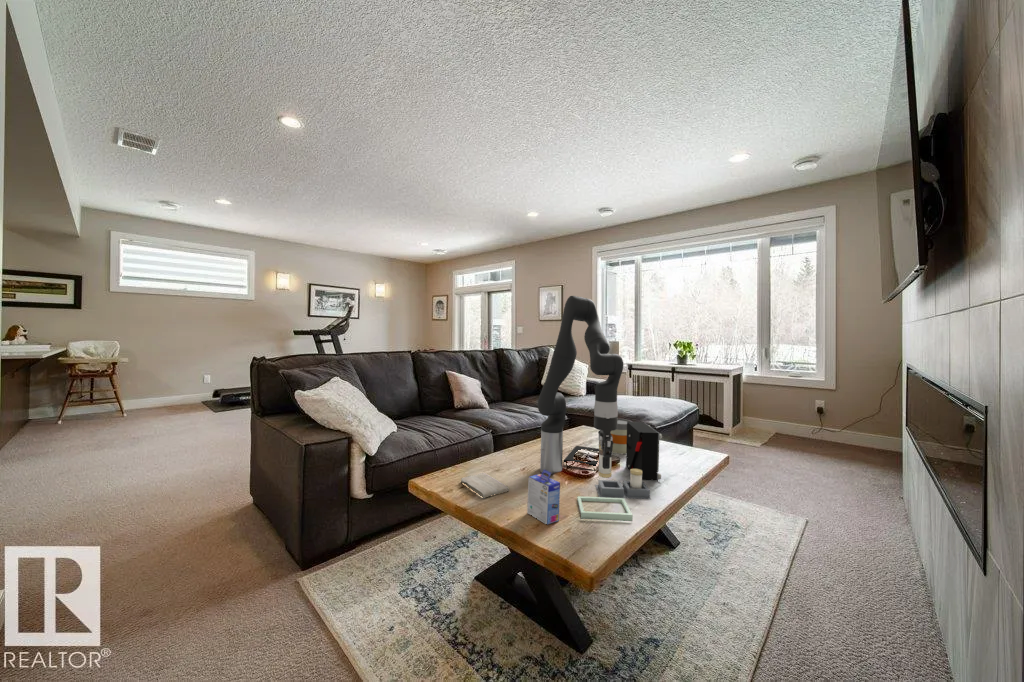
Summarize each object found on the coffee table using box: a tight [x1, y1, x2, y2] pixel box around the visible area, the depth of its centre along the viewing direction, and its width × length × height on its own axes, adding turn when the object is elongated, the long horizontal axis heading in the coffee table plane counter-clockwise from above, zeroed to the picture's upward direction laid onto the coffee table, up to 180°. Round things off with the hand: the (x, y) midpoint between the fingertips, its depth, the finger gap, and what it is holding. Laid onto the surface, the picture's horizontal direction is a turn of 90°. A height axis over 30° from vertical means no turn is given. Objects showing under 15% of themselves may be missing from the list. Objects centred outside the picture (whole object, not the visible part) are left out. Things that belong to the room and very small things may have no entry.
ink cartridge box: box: [526, 470, 561, 525], centre depth 122 cm, size 10×6×14 cm, turn 38°
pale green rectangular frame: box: [576, 495, 634, 522], centre depth 127 cm, size 16×12×2 cm
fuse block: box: [594, 469, 652, 500], centre depth 140 cm, size 18×11×9 cm, turn 86°
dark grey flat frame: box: [563, 445, 599, 466], centre depth 178 cm, size 14×23×3 cm, turn 157°
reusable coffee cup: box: [611, 418, 633, 455], centre depth 191 cm, size 13×12×15 cm
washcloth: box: [460, 472, 510, 499], centre depth 145 cm, size 12×18×3 cm, turn 37°
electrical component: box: [625, 421, 663, 483], centre depth 160 cm, size 18×10×20 cm, turn 179°
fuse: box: [598, 443, 613, 479], centre depth 127 cm, size 4×4×10 cm
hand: (604, 465), depth 127 cm, fingers closed on fuse, 4 cm apart
